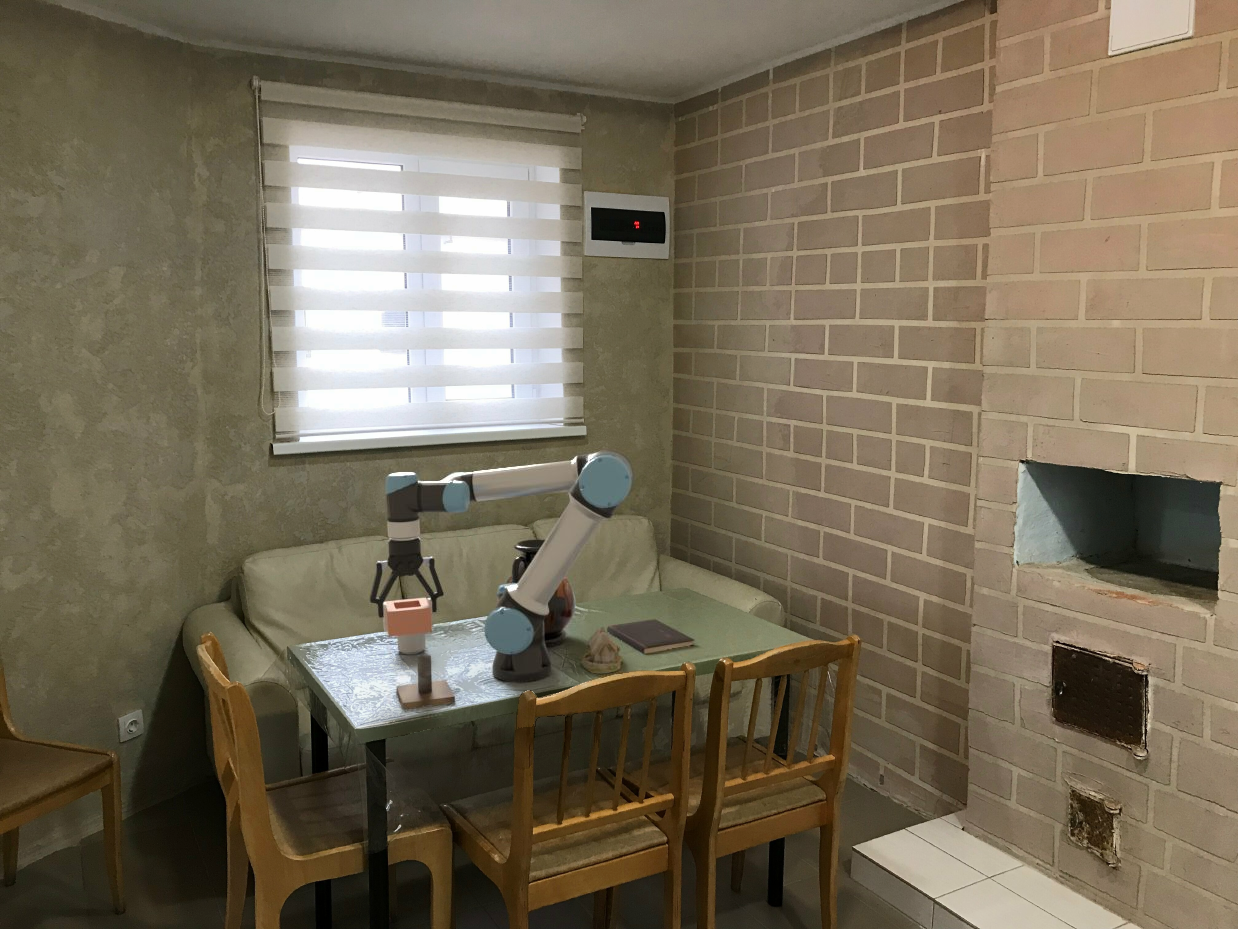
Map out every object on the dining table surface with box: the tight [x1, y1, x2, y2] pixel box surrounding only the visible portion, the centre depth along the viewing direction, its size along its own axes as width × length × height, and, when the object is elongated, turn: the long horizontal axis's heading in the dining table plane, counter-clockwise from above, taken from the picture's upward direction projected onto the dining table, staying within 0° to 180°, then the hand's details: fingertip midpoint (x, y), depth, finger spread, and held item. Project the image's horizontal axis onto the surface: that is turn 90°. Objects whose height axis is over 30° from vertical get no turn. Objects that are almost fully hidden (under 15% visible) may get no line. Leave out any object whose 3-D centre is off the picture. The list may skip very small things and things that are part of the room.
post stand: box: [395, 654, 456, 710], centre depth 231 cm, size 12×12×10 cm
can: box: [397, 633, 427, 655], centre depth 266 cm, size 8×8×12 cm
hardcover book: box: [606, 618, 695, 655], centre depth 276 cm, size 16×23×2 cm
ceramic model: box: [580, 626, 623, 674], centre depth 254 cm, size 14×11×10 cm
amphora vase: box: [504, 539, 576, 648], centre depth 274 cm, size 22×22×28 cm
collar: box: [384, 597, 433, 638], centre depth 234 cm, size 10×10×6 cm
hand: (408, 627), depth 235 cm, fingers closed on collar, 10 cm apart
